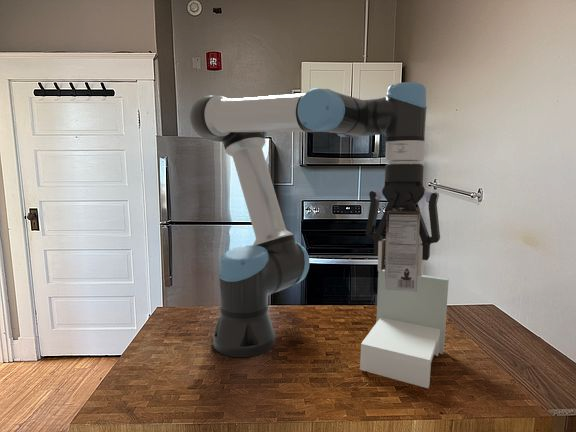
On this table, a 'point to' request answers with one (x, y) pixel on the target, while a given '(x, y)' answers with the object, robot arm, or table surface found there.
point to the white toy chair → (407, 331)
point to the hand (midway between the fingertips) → (400, 272)
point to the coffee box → (401, 249)
